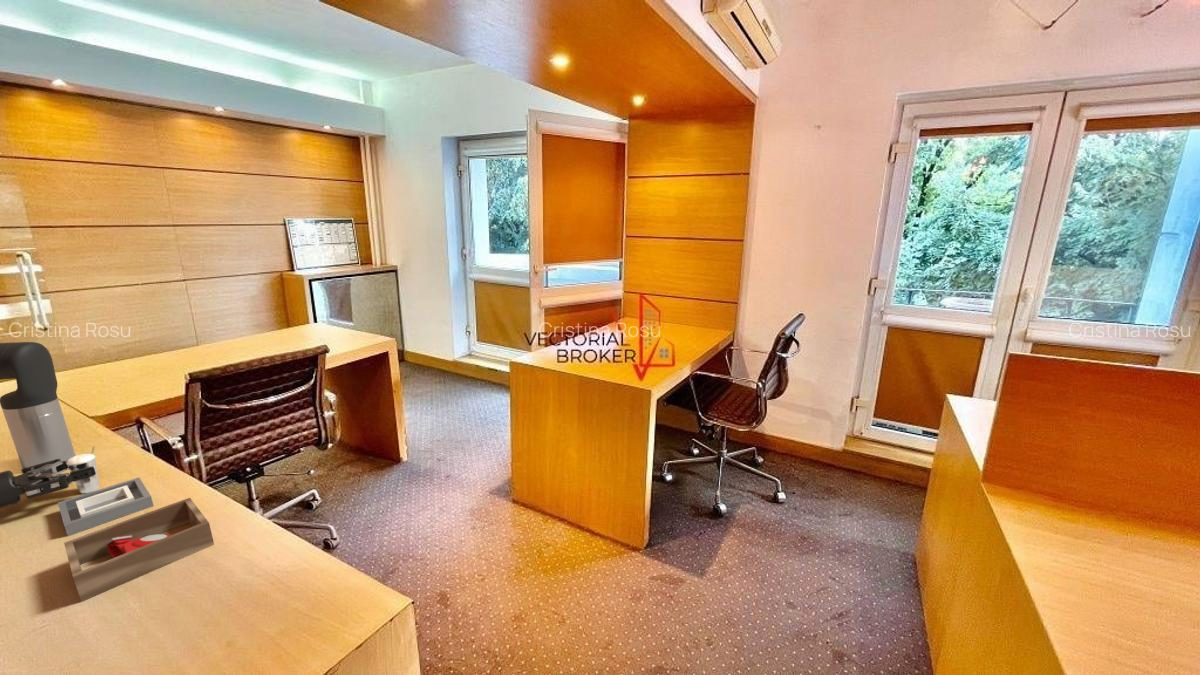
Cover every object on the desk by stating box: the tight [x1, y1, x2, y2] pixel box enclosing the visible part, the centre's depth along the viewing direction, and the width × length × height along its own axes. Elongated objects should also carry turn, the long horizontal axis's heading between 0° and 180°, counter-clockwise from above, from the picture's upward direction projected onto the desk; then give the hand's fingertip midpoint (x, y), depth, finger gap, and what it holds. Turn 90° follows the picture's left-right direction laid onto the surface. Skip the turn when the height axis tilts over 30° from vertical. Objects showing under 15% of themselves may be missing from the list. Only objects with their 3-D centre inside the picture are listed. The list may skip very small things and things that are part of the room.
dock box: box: [57, 477, 154, 537], centre depth 102 cm, size 13×13×2 cm
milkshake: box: [66, 445, 101, 495], centre depth 109 cm, size 4×5×10 cm
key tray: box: [63, 497, 215, 602], centre depth 88 cm, size 14×18×5 cm
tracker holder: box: [104, 533, 171, 559], centre depth 87 cm, size 12×4×10 cm
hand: (92, 464), depth 110 cm, fingers open, 8 cm apart
